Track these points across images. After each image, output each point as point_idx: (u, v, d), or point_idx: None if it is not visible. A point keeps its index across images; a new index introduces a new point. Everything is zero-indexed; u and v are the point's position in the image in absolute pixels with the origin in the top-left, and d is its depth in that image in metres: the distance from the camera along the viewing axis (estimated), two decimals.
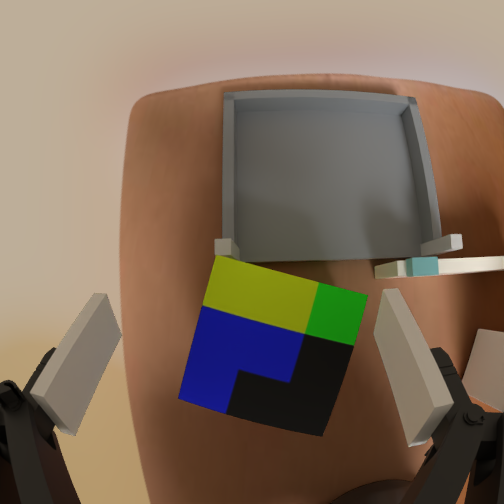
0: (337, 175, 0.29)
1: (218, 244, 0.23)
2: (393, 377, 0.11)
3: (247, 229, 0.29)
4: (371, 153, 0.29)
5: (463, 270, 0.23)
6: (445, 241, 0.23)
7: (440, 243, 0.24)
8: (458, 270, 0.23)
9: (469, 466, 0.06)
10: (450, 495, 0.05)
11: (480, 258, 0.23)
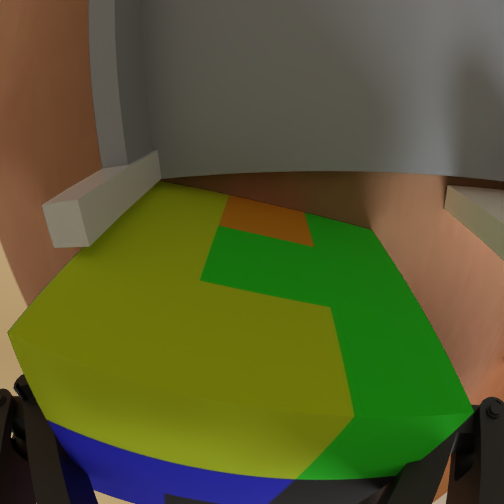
0: None
1: (53, 219, 0.07)
2: None
3: (170, 103, 0.11)
4: None
5: None
6: None
7: None
8: None
9: (446, 457, 0.06)
10: (429, 487, 0.05)
11: None
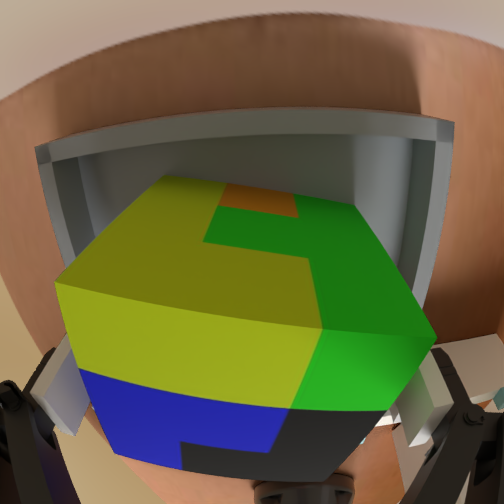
0: None
1: None
2: None
3: None
4: None
5: None
6: (393, 404, 0.16)
7: None
8: None
9: (469, 466, 0.06)
10: (450, 495, 0.05)
11: None
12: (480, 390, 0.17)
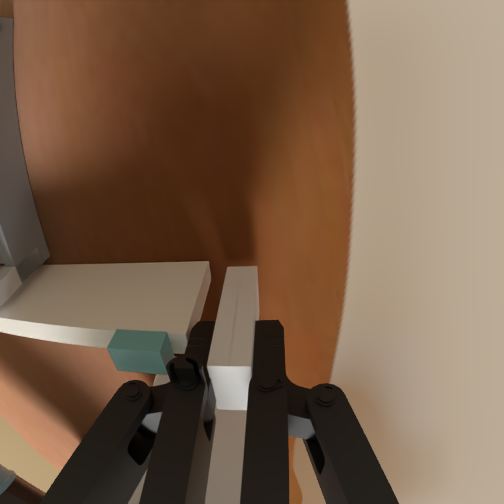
0: None
1: None
2: None
3: None
4: None
5: (9, 332, 0.14)
6: None
7: None
8: (4, 330, 0.14)
9: (285, 430, 0.08)
10: (278, 463, 0.07)
11: (26, 322, 0.13)
12: (85, 322, 0.13)
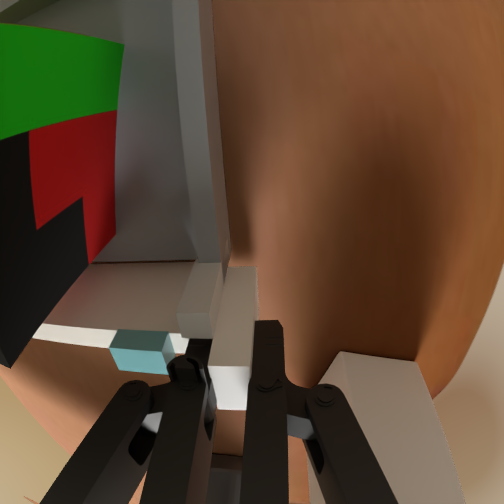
0: None
1: None
2: None
3: None
4: None
5: None
6: None
7: None
8: None
9: (284, 430, 0.08)
10: (277, 463, 0.07)
11: None
12: (86, 322, 0.13)
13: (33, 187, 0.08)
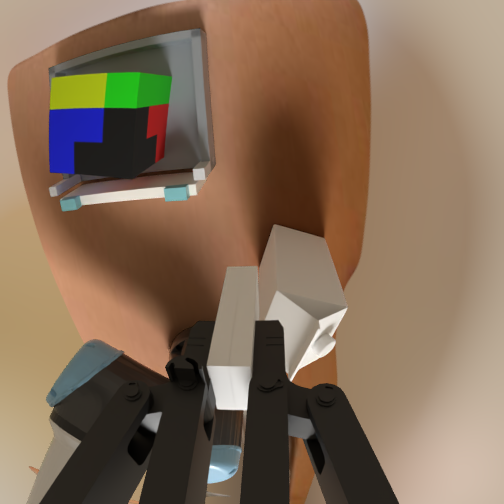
0: None
1: (51, 190, 0.32)
2: None
3: None
4: None
5: (104, 201, 0.34)
6: None
7: None
8: (100, 201, 0.34)
9: (285, 430, 0.08)
10: (278, 463, 0.07)
11: (118, 192, 0.33)
12: (151, 186, 0.33)
13: (148, 124, 0.28)
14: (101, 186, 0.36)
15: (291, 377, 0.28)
